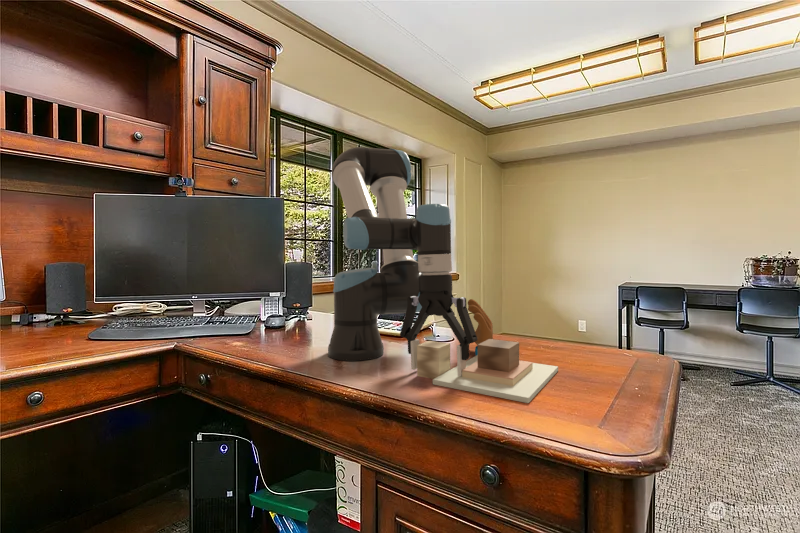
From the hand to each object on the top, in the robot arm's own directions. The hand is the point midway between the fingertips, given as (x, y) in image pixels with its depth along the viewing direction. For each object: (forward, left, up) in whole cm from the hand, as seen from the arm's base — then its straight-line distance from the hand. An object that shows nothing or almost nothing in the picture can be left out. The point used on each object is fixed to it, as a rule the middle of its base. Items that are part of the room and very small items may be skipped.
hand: (438, 371), depth 91 cm
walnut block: (+12, +6, +1) cm, 13 cm away
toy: (+1, +23, -1) cm, 23 cm away
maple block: (-1, 0, -1) cm, 2 cm away
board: (+12, +6, -1) cm, 13 cm away
